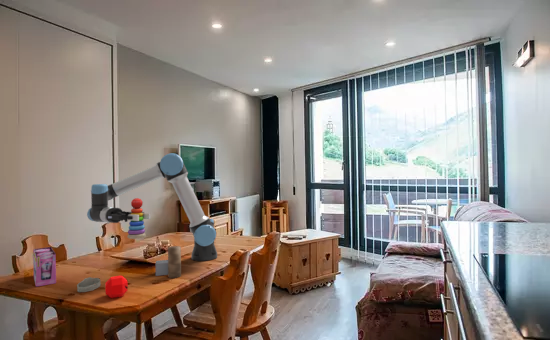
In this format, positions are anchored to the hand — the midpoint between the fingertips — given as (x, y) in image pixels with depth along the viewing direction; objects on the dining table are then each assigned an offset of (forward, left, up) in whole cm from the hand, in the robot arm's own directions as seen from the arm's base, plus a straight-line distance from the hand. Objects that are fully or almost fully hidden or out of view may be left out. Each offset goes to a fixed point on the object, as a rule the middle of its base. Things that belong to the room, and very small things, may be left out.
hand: (144, 217), depth 152 cm
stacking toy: (+4, -4, -10) cm, 11 cm away
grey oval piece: (+23, +3, -30) cm, 38 cm away
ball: (+10, +16, -30) cm, 36 cm away
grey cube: (-7, -10, -30) cm, 32 cm away
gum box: (+47, -21, -30) cm, 60 cm away
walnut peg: (-13, -3, -30) cm, 33 cm away
